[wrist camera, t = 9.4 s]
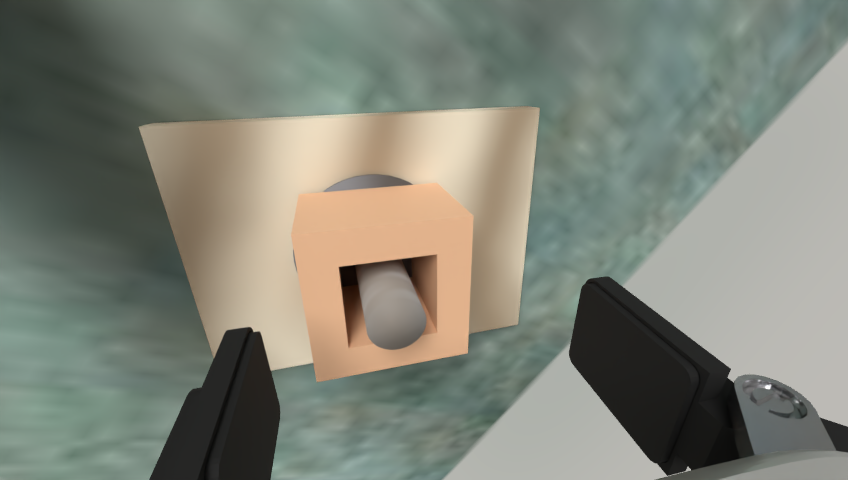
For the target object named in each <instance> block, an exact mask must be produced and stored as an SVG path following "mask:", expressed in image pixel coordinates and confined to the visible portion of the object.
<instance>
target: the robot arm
mask: <svg viewBox="0 0 848 480" xmlns="http://www.w3.org/2000/svg"><path fill="white" fill-rule="evenodd" d="M569 356H570V360H571V362H572V364H573V365H574V366H575V368H576V369H577V370H578V371H579V373H580V374H581V375H582V376H583V378H584V379H585V380H586V381H587V382H588V384H589V385H590V386H591V387H592V389H593V390H594V391H595V392H596V393H597V395H598V396H599V397H600V399H601V400H602V401H603V402H604V404H605V405H606V406H607V407H608V409H609V410H610V411H611V412H612V414H613V415H614V416H615V417H616V419H617V420H618V421H619V422H620V423H621V425H622V426H623V427H624V428H625V430H626V431H627V432H628V433H629V434H630V436H631V437H632V438H633V439H634V441H635V442H636V443H637V445H638V446H639V447H640V448H641V449H642V451H643V452H644V453H645V455H646V456H647V457H648V458H649V459H650V460H651V461H652V462H654V463H657V464H658V465H659V466H660V467H661V469H662V470H663V471H664V472H665V473H666V475H667V476H668V475H672V474H676V473H680V472H683V473H680V474H676V475H672V476H668V477H664V478H660V479H657V480H848V427H847V426H843V425H841V424H837V423H834V422H831V421H828V420H825V419H822V418H820V417H819V415H818V414H817V411H816V410H815V408H814V407H813V406H812V404H811V403H810V402H809V401H808V400H807V399H806V398H805V397H804V396H802V395H801V394H800V393H798V392H797V391H795V390H794V389H792V388H791V387H789V386H787V385H785V384H783V383H780V382H779V381H776V380H773V379H770V378H767V377H764V376H758V375H743V376H739V377H738V378H737V379H736V380H735V381H734V383H733V382H732V381H731V380H729V379H728V378H727V377H728V374H729V372H730V370H731V369H730V368H729V367H727V366H726V365H725V364H724V363H722V362H721V361H720V360H718V359H717V358H716V357H714V356H713V355H712V354H710V353H709V352H708V351H706V350H705V349H704V348H702V347H701V346H700V345H698V344H697V343H696V342H695V341H693V340H692V339H691V338H689V337H688V336H687V335H685V334H684V333H683V332H681V331H680V330H679V329H677V328H676V327H675V326H673V325H672V324H671V323H669V322H668V321H667V320H665V319H664V318H663V317H662V316H660V315H659V314H658V313H656V312H655V311H654V310H652V309H651V308H649V307H648V306H647V305H646V304H644V303H643V302H642V301H640V300H639V299H638V298H637V297H635V296H634V295H632V294H631V293H630V292H628V291H627V290H626V289H625V288H623V287H622V286H621V285H619V284H618V283H617V282H615V281H614V280H613V279H612V278H610V277H599V278H592V279H589V280H587V282H586V284H585V285H583V286H582V289H581V293H580V298H579V304H578V309H577V314H576V319H575V324H574V329H573V334H572V340H571V345H570V350H569ZM279 421H280V405H279V401H278V397H277V393H276V389H275V385H274V382H273V378H272V374H271V370H270V366H269V362H268V358H267V354H266V350H265V347H264V343H263V339H262V335H261V333H260V331H257V332H253V329H252V328H251V327H245V328H238V329H231V330H227V331H226V332H225V333H224V336H223V338H222V340H221V343H220V345H219V348H218V350H217V352H216V355H215V357H214V360H213V362H212V365H211V367H210V369H209V372H208V374H207V377H206V379H205V381H204V384H203V386H202V388H196V389H193V390H191V391H190V392H189V394H188V396H187V397H186V399H185V402H184V404H183V406H182V408H181V411H180V413H179V415H178V417H177V419H176V422H175V424H174V426H173V428H172V430H171V433H170V435H169V437H168V439H167V442H166V444H165V446H164V448H163V450H162V453H161V455H160V457H159V459H158V462H157V464H156V466H155V468H154V470H153V473H152V475H151V477H150V479H149V480H270V479H271V472H272V466H273V459H274V453H275V447H276V440H277V434H278V427H279ZM687 466H689V468H690V469H691V471H688V472H684V471H686V469H687Z"/></svg>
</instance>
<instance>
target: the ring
mask: <svg viewBox="0 0 848 480" xmlns="http://www.w3.org/2000/svg"><path fill="white" fill-rule="evenodd" d="M473 218H474V216H473V215H472V214H471V213H470V212H469V211H468V210H467V209H466V208H464V207H463V206H462V205H461V204H460V203H459V202H458V201H457V200H456V199H454V198H453V197H452V196H451V195H450V194H449V193H448V192H447V191H446V190H445V189H443V188H442V187H441V186H440V185H439V184H438V183H428V184H416V185H404V186H392V187H380V188H368V189H356V190H344V191H331V192H319V193H307V194H299V196H298V201H297V206H296V211H295V217H294V222H293V227H292V232H291V238H292V244H293V250H294V255H295V261H296V267H297V272H298V278H299V284H300V289H301V295H302V301H303V306H304V312H305V318H306V323H307V329H308V335H309V341H310V346H311V352H312V358H313V363H314V369H315V375H316V380H317V382H321V381H326V380H331V379H336V378H341V377H347V376H352V375H357V374H362V373H367V372H373V371H378V370H383V369H388V368H393V367H398V366H404V365H409V364H414V363H419V362H424V361H430V360H435V359H440V358H445V357H450V356H456V355H461V354H466V353H468V335H469V312H470V288H471V265H472V241H473ZM405 258H411V262H412V277H410V280H411V282H412V285H413V287H414V289H415V291H416V294H417V296H418V298H419V300H420V303H421V305H422V307H423V309H424V312H425V314H426V320H427V321H426V327H425V330H424V332H423V334H422V335H421V336H420V338H419V339H418V340H417V341H415V342H414V343H413V344H411V345H409V346H407V347H405V348H402V349H397V350H387V349H383V348H380V347H378V346H376V345H375V344H374V343H372V342H371V340H370V339H369V337H368V335H367V330H366V324H365V319H364V313H363V308H362V302H361V297H360V291H359V286H358V285H353V286H345V287H342V280H341V272H340V267H342V266H350V265H357V264H365V263H373V262H381V261H389V260H397V259H405Z"/></svg>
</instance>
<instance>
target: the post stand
mask: <svg viewBox="0 0 848 480" xmlns="http://www.w3.org/2000/svg"><path fill="white" fill-rule="evenodd" d="M539 111H540V108H536V107H529V106H520V107H497V108H475V109H453V110H431V111H409V112H387V113H365V114H343V115H320V116H298V117H276V118H254V119H232V120H210V121H188V122H166V123H151V124H147V125H143V126H140V127H139V130H140V133H141V136H142V139H143V142H144V145H145V148H146V151H147V154H148V157H149V160H150V163H151V167H152V170H153V173H154V176H155V179H156V182H157V185H158V188H159V191H160V194H161V197H162V200H163V203H164V206H165V210H166V213H167V216H168V219H169V222H170V225H171V228H172V231H173V234H174V237H175V240H176V243H177V246H178V249H179V253H180V256H181V259H182V262H183V265H184V268H185V271H186V274H187V277H188V280H189V283H190V286H191V289H192V293H193V296H194V299H195V302H196V305H197V308H198V311H199V314H200V317H201V320H202V323H203V326H204V329H205V332H206V336H207V339H208V342H209V345H210V348H211V351H212V354H213V357H215V355H216V352H217V350H218V348H219V345H220V343H221V340H222V338H223V336H224V333H225V332H226V331H227V330H231V329H238V328H245V327H251V328H252V329H253V332H257V331H260V333H261V335H262V339H263V343H264V347H265V350H266V354H267V358H268V362H269V366H270V370H271V371H272V370H277V369H282V368H288V367H293V366H299V365H304V364H309V363H313V358H312V352H311V346H310V341H309V335H308V329H307V323H306V318H305V312H304V306H303V301H302V295H301V289H300V284H299V278H298V272H297V267H296V261H295V255H294V250H293V244H292V238H291V232H292V227H293V222H294V217H295V211H296V206H297V201H298V196H299V194H307V193H319V192H331V191H344V190H356V189H368V188H380V187H392V186H404V185H416V184H428V183H438V184H439V185H440V186H441V187H442V188H443V189H445V190H446V191H447V192H448V193H449V194H450V195H451V196H452V197H453V198H454V199H456V200H457V201H458V202H459V203H460V204H461V205H462V206H463V207H464V208H466V209H467V210H468V211H469V212H470V213H471V214H472V215H473V216H474V218H473V241H472V265H471V288H470V312H469V334H470V333H476V332H481V331H486V330H492V329H497V328H503V327H508V326H513V325H518V319H519V309H520V299H521V289H522V279H523V269H524V259H525V249H526V239H527V230H528V220H529V210H530V200H531V190H532V180H533V170H534V160H535V150H536V141H537V131H538V121H539ZM340 272H341V280H342V287H345V286H353V285H358V286H359V291H360V297H361V302H362V308H363V313H364V319H365V324H366V330H367V335H368V337H369V339H370V340H371V342H372V343H374V344H375V345H376V346H378V347H380V348H383V349H387V350H397V349H402V348H405V347H407V346H409V345H411V344H413V343H414V342H415V341H417V340H418V339H419V338H420V336H421V335H422V334H423V332H424V330H425V327H426V321H427V320H426V314H425V312H424V309H423V307H422V305H421V303H420V300H419V298H418V296H417V294H416V291H415V289H414V287H413V285H412V282H411V280H410V277H412V262H411V258H405V259H397V260H389V261H381V262H373V263H365V264H357V265H350V266H342V267H340Z"/></svg>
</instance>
